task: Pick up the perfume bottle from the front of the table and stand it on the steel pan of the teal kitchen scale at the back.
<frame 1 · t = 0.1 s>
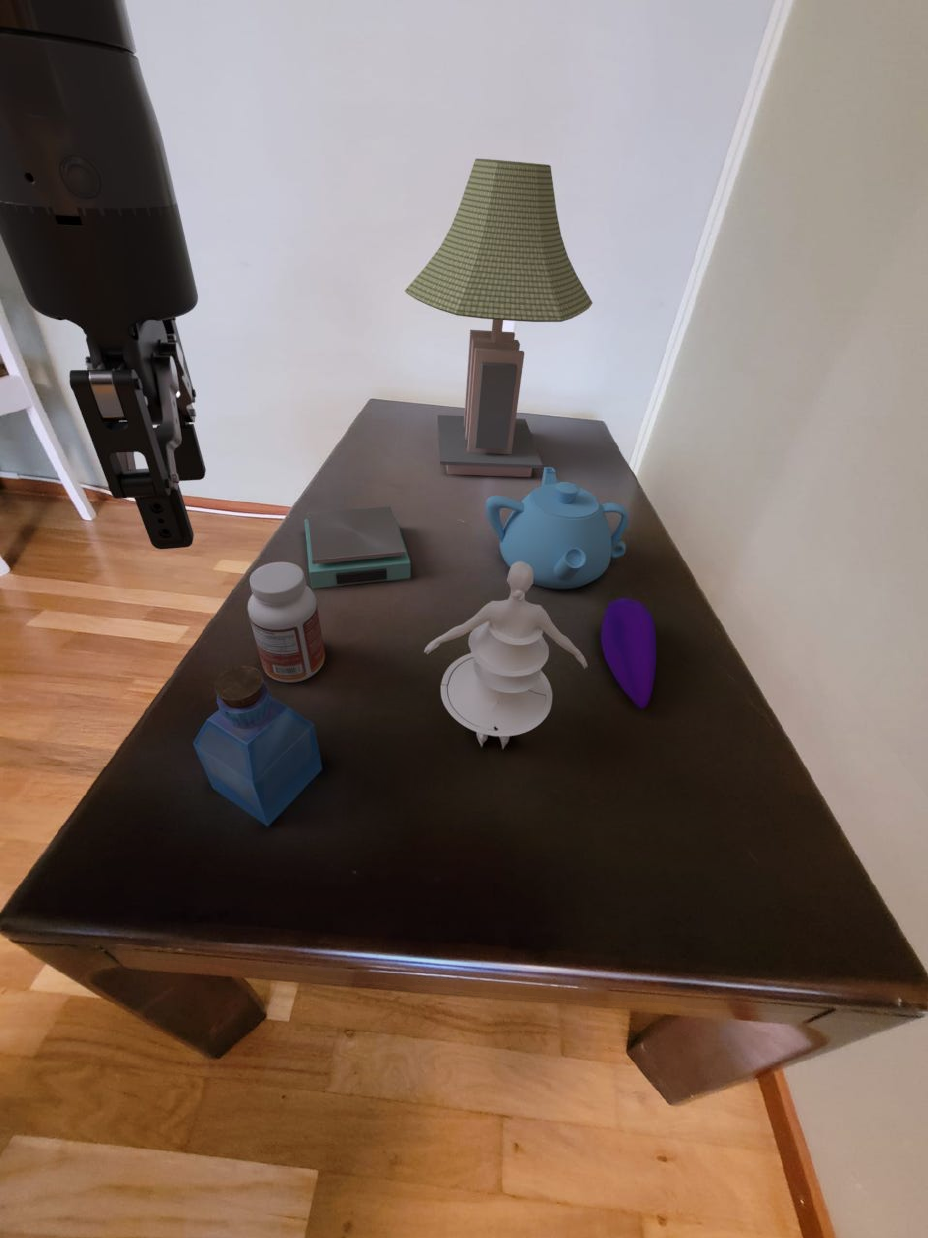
hand: (183, 508, 35), 22 cm above the table, tool pointing down, fingers open, 8 cm apart
figurine: (492, 735, 50), on the table
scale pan: (354, 533, 68), point 4 cm above the table, slide at 0.0 cm
scale: (356, 556, 70), on the table
pill bottle: (294, 664, 55), on the table
purple teardrop shape: (624, 664, 59), on the table
teapot: (550, 564, 72), on the table
desk lamp: (484, 455, 97), on the table
perfume bottle: (269, 780, 45), on the table
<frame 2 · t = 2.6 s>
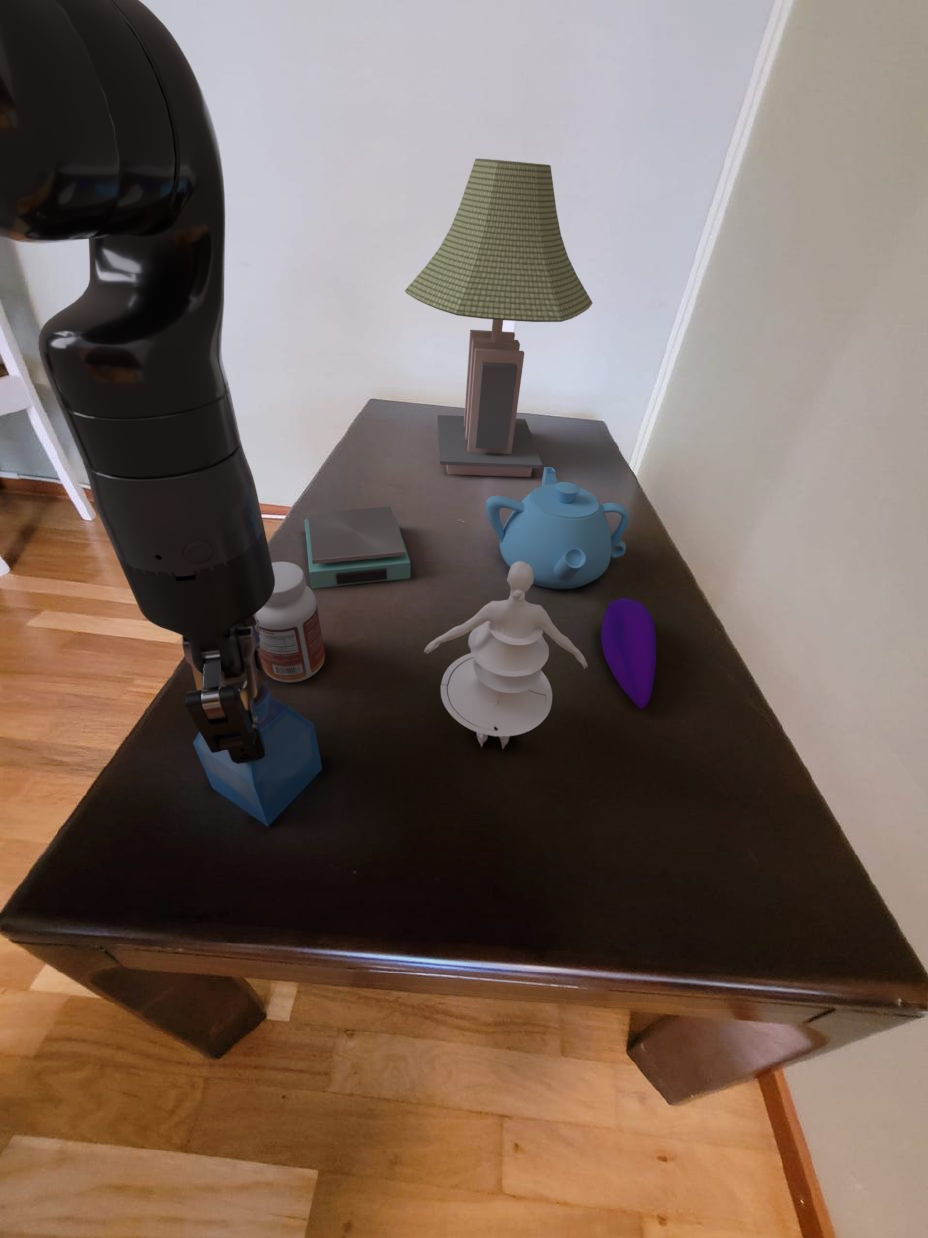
hand: (250, 722, 40), 8 cm above the table, tool pointing down, fingers closed on perfume bottle, 5 cm apart
perfume bottle: (269, 780, 45), on the table, touching gripper
everything else where it was.
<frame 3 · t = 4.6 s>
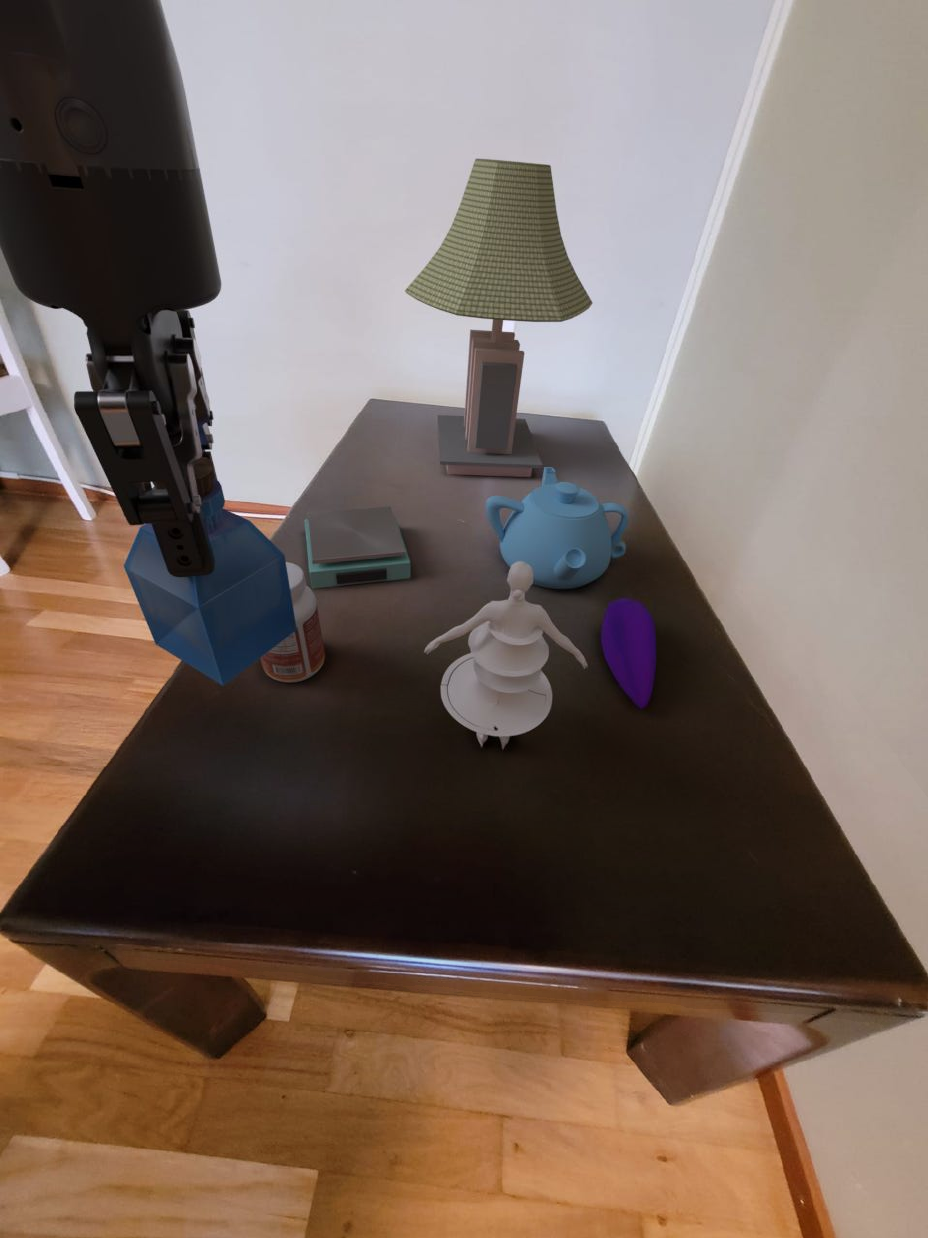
hand: (199, 539, 31), 23 cm above the table, tool pointing down, fingers closed on perfume bottle, 5 cm apart
perfume bottle: (228, 639, 36), point 15 cm above the table, touching gripper
everything else where it was.
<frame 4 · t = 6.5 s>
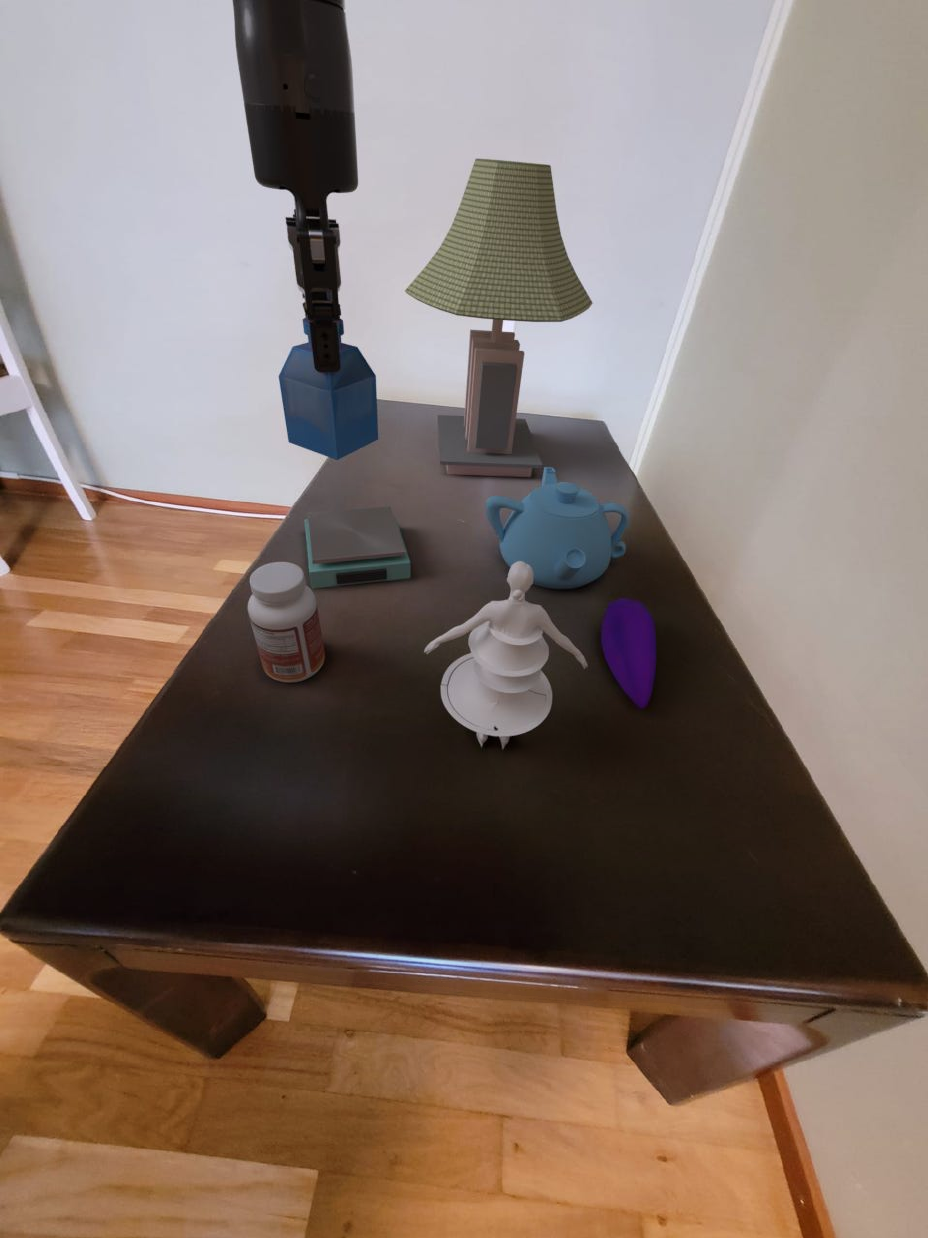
hand: (325, 359, 49), 26 cm above the table, tool pointing down, fingers closed on perfume bottle, 5 cm apart
perfume bottle: (334, 442, 54), point 18 cm above the table, touching gripper
everything else where it was.
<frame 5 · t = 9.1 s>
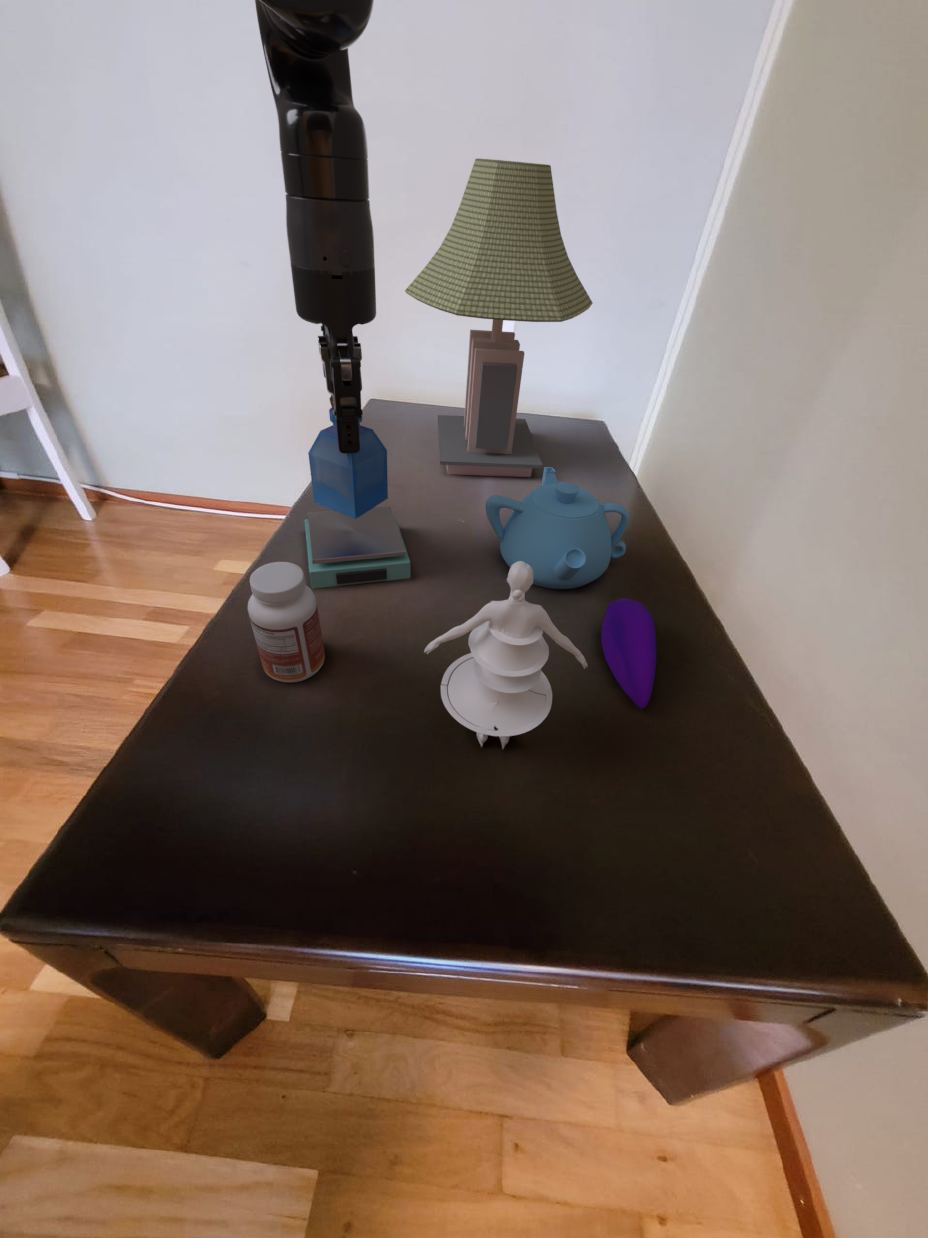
hand: (346, 439, 60), 16 cm above the table, tool pointing down, fingers closed on perfume bottle, 5 cm apart
perfume bottle: (351, 501, 65), point 8 cm above the table, touching gripper
everything else where it was.
when the fingers open (11 cm above the table, at t = 10.7 s): perfume bottle stays where it is, resting on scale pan.
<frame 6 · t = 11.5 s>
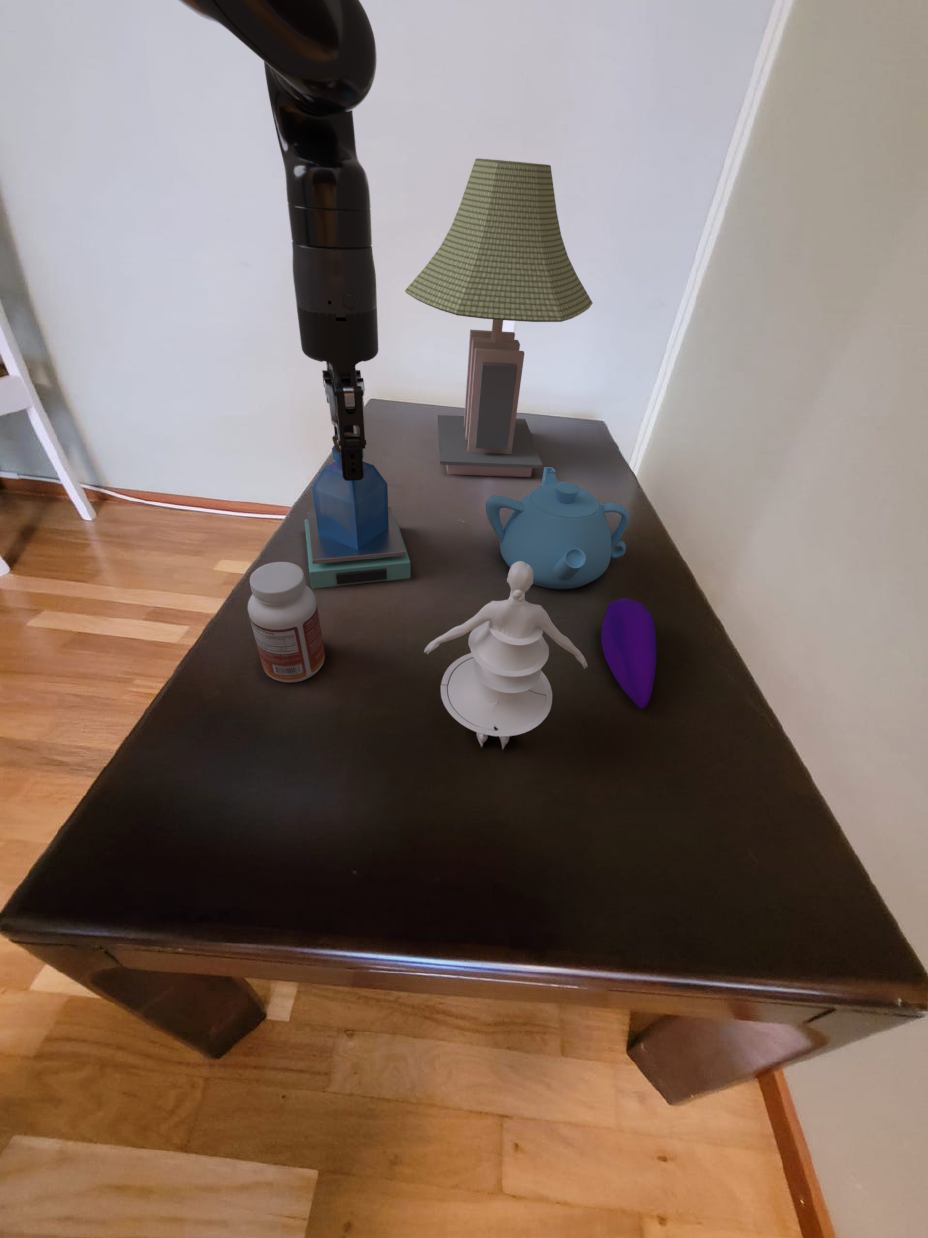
hand: (349, 461, 62), 13 cm above the table, tool pointing down, fingers open, 8 cm apart
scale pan: (354, 533, 68), point 3 cm above the table, slide at 0.0 cm, touching perfume bottle, scale
perfume bottle: (354, 532, 68), point 4 cm above the table, touching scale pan
everything else where it was.
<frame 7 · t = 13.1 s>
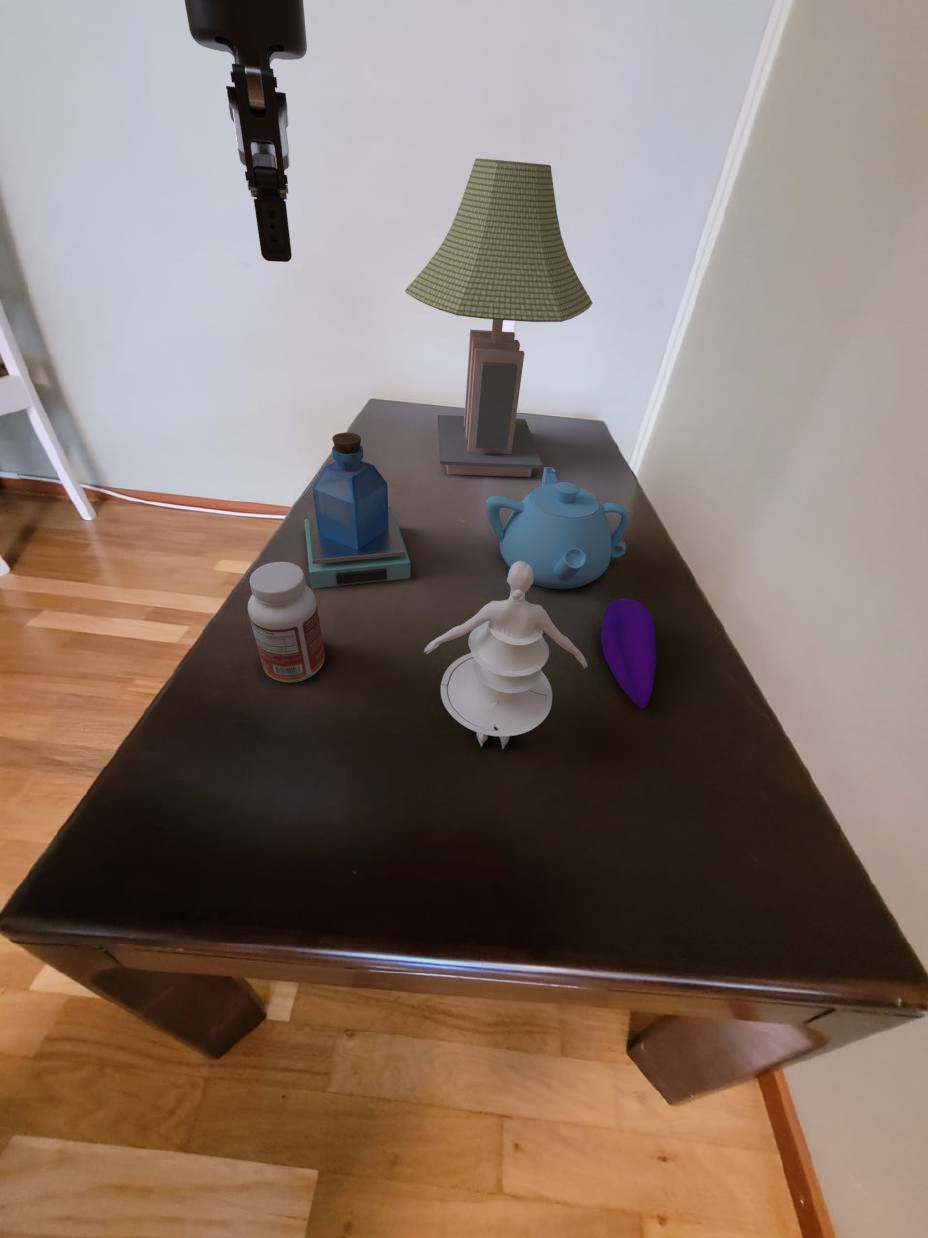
hand: (276, 251, 44), 33 cm above the table, tool pointing down, fingers open, 8 cm apart
nothing on the table moved.
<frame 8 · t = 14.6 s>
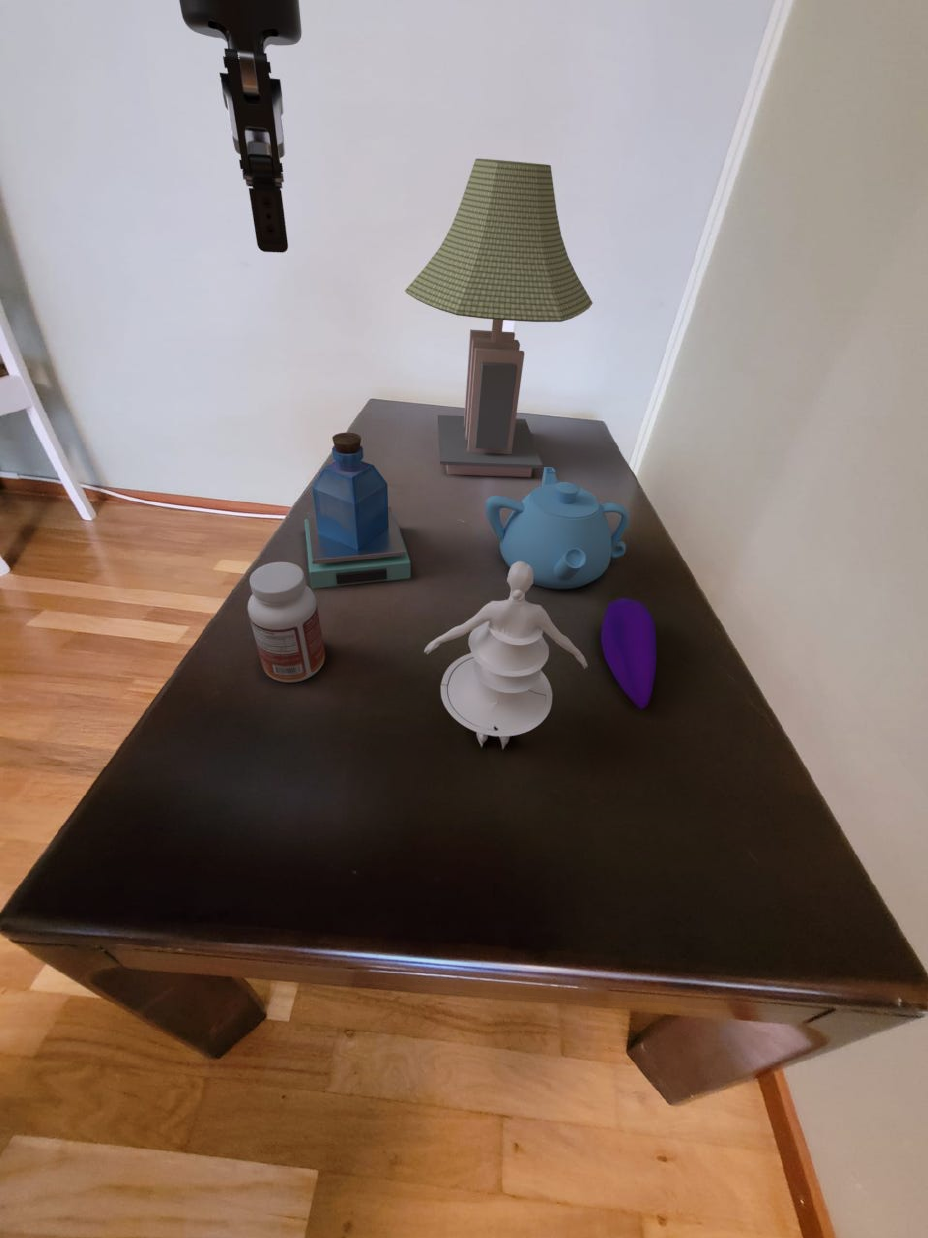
hand: (273, 242, 44), 34 cm above the table, tool pointing down, fingers open, 8 cm apart
nothing on the table moved.
at the end: perfume bottle inside the target area on the scale (0.1 cm from its centre), point 3.6 cm above the scale's base; perfume bottle tilted 0° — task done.
